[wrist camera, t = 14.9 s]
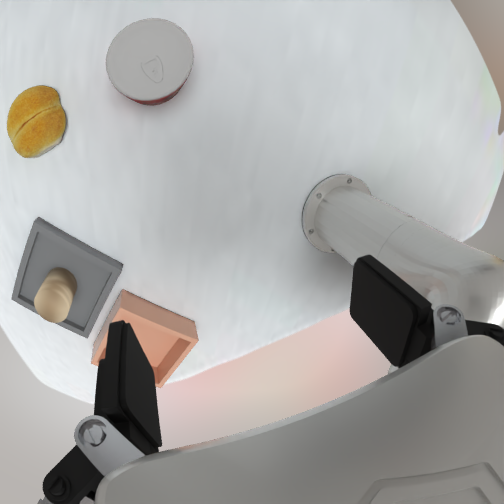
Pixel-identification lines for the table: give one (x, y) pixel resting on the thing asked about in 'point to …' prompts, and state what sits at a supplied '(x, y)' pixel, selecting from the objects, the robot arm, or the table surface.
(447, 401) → the robot arm
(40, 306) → the beech cylinder
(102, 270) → the charcoal tray
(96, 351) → the salmon square tray
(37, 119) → the bread roll
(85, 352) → the table surface
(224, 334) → the table surface
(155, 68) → the canned food
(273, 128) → the table surface
